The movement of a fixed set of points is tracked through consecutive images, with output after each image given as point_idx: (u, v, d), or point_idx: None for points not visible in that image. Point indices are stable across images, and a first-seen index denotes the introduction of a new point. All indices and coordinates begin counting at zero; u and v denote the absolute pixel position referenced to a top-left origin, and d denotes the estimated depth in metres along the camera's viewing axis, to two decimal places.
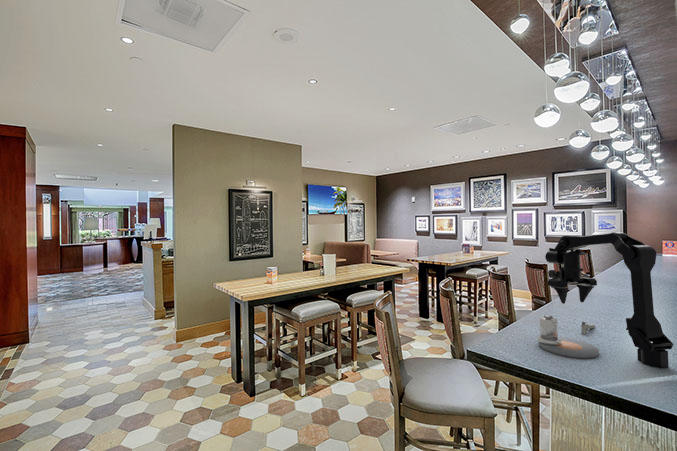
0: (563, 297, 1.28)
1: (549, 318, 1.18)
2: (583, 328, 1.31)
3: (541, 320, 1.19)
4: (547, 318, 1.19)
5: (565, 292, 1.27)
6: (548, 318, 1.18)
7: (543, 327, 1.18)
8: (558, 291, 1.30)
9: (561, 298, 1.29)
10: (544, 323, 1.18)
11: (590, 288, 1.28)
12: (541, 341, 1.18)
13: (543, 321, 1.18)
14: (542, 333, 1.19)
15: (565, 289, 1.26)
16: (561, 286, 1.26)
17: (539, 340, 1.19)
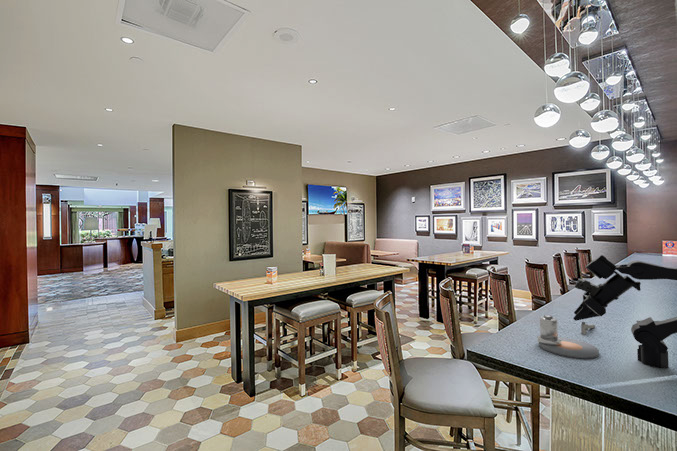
0: (583, 317, 1.09)
1: (549, 318, 1.18)
2: (583, 328, 1.32)
3: (541, 320, 1.19)
4: (547, 318, 1.19)
5: None
6: (548, 318, 1.18)
7: (543, 327, 1.18)
8: (584, 310, 1.08)
9: (579, 316, 1.10)
10: (544, 323, 1.18)
11: None
12: (541, 341, 1.18)
13: (543, 321, 1.18)
14: (542, 333, 1.19)
15: None
16: None
17: (539, 340, 1.19)
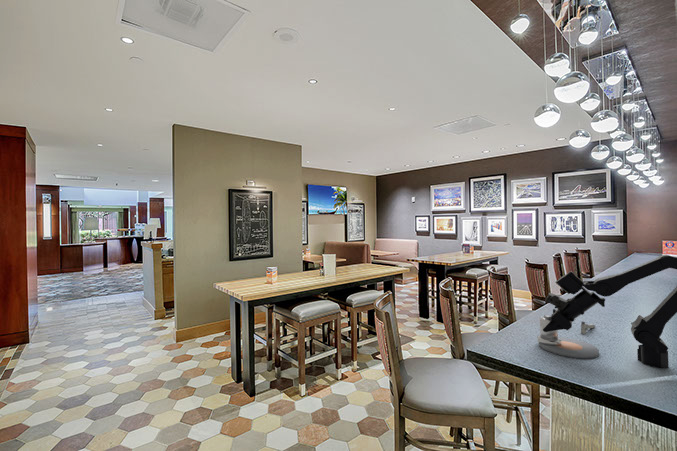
0: (552, 329, 1.15)
1: (549, 318, 1.18)
2: (582, 328, 1.32)
3: (541, 320, 1.19)
4: (547, 318, 1.19)
5: None
6: (548, 318, 1.18)
7: (543, 327, 1.18)
8: (552, 322, 1.15)
9: (548, 328, 1.16)
10: (544, 323, 1.18)
11: None
12: (541, 341, 1.18)
13: (543, 321, 1.18)
14: (542, 333, 1.19)
15: None
16: (568, 329, 1.09)
17: (539, 340, 1.19)
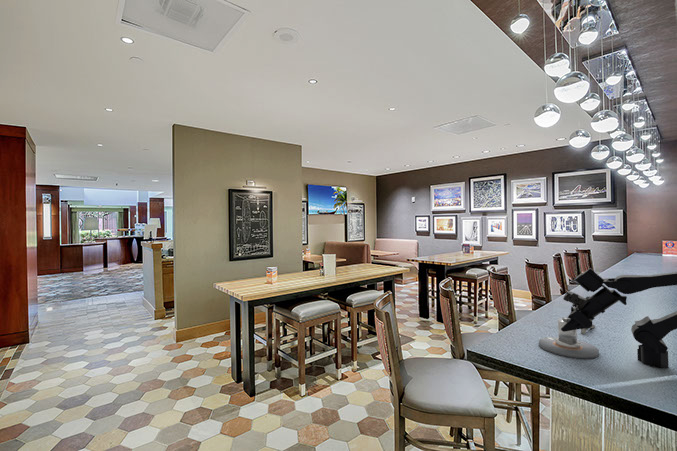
0: (571, 329, 1.12)
1: (568, 320, 1.15)
2: None
3: (559, 322, 1.16)
4: (566, 320, 1.15)
5: None
6: (567, 320, 1.15)
7: None
8: (571, 321, 1.11)
9: (566, 327, 1.12)
10: (563, 325, 1.15)
11: None
12: (560, 344, 1.15)
13: (562, 323, 1.15)
14: (561, 336, 1.16)
15: None
16: (588, 328, 1.06)
17: (557, 343, 1.16)
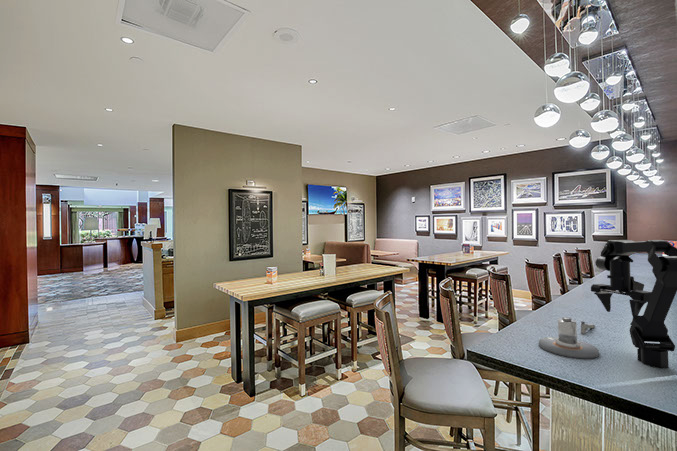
0: None
1: (568, 320, 1.15)
2: (582, 328, 1.32)
3: (559, 322, 1.16)
4: (566, 320, 1.15)
5: (599, 298, 1.23)
6: (567, 320, 1.15)
7: (562, 330, 1.15)
8: None
9: None
10: (563, 325, 1.15)
11: (632, 302, 1.11)
12: (560, 344, 1.15)
13: (562, 323, 1.15)
14: (560, 336, 1.16)
15: (597, 294, 1.23)
16: (592, 290, 1.25)
17: (557, 343, 1.16)
